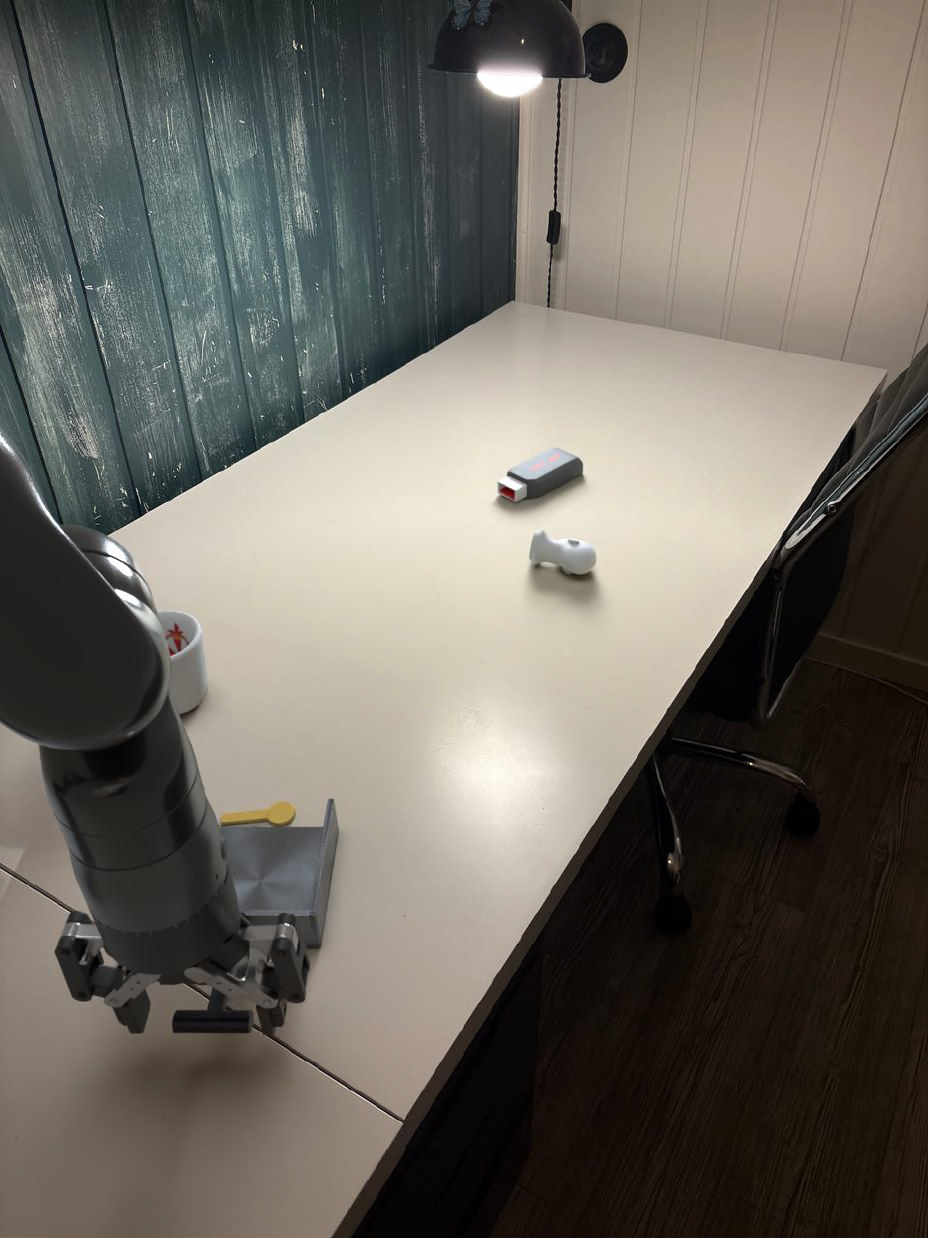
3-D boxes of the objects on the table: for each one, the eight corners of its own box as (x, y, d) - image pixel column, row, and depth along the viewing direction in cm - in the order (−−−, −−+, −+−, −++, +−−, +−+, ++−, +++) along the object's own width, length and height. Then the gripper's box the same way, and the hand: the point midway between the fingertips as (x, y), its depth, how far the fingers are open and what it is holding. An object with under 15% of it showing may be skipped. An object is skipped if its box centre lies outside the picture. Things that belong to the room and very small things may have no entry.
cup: (92, 715, 89) (68, 652, 84) (134, 662, 95) (114, 600, 90) (194, 732, 86) (175, 669, 81) (230, 677, 92) (215, 615, 87)
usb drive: (583, 473, 123) (584, 455, 122) (521, 506, 117) (521, 487, 115) (554, 460, 126) (555, 442, 125) (492, 491, 120) (492, 473, 118)
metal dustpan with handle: (140, 1062, 62) (123, 1026, 59) (209, 830, 77) (198, 792, 75) (303, 1063, 62) (293, 1027, 59) (339, 830, 77) (333, 792, 74)
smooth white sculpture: (599, 574, 107) (583, 585, 103) (538, 554, 110) (520, 564, 106) (607, 540, 105) (591, 549, 101) (545, 520, 108) (527, 529, 104)
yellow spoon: (294, 821, 77) (294, 825, 78) (295, 800, 79) (295, 803, 80) (220, 829, 77) (220, 832, 77) (222, 807, 79) (223, 810, 79)
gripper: (-4, 929, 47) (79, 1078, 57) (274, 930, 47) (308, 1080, 57) (49, 813, 53) (116, 967, 63) (296, 815, 53) (323, 969, 63)
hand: (207, 1021), depth 60 cm, fingers open, 8 cm apart
